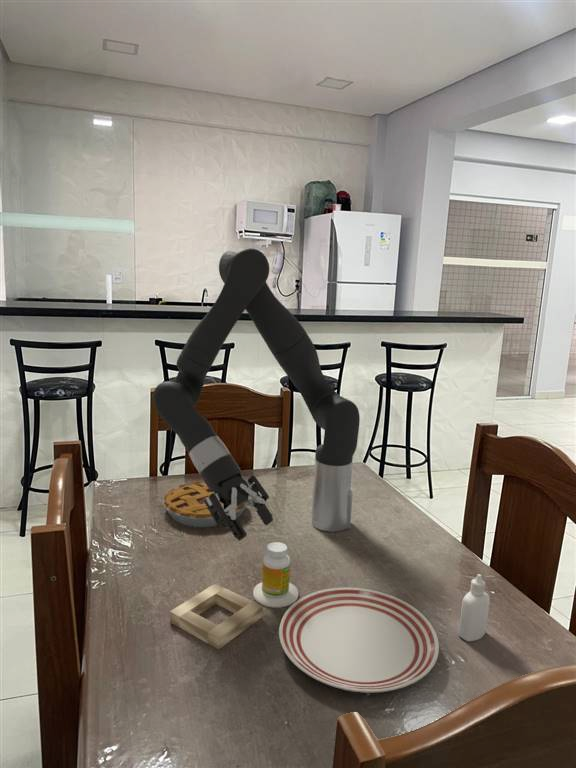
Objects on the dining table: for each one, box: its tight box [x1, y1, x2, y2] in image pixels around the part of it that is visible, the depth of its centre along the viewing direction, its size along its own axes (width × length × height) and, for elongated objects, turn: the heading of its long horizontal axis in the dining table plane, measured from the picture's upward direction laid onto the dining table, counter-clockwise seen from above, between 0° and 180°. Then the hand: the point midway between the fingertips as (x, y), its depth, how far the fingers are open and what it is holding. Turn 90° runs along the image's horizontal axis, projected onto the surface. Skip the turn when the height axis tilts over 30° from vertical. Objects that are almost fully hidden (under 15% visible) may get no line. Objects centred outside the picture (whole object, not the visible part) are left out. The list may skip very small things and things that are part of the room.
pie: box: [162, 481, 248, 528], centre depth 153 cm, size 22×22×5 cm
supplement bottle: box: [261, 541, 291, 598], centre depth 116 cm, size 5×5×10 cm
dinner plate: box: [278, 587, 440, 694], centre depth 102 cm, size 28×27×3 cm
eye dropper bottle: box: [458, 573, 491, 642], centre depth 106 cm, size 4×6×12 cm
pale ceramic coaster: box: [252, 581, 299, 609], centre depth 117 cm, size 9×9×1 cm
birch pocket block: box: [169, 583, 264, 650], centre depth 108 cm, size 12×12×2 cm
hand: (256, 530), depth 117 cm, fingers open, 8 cm apart
